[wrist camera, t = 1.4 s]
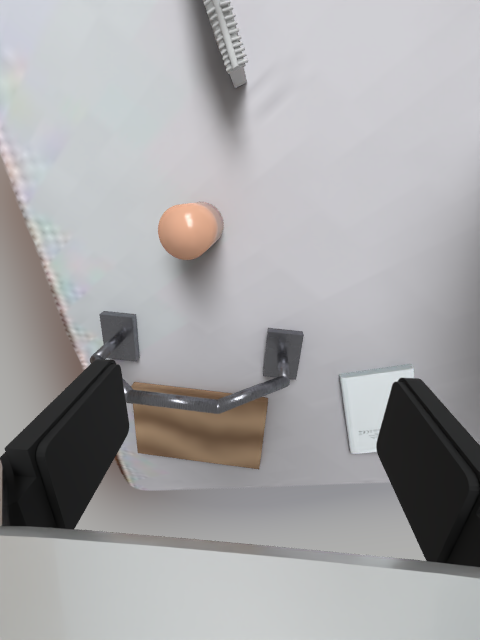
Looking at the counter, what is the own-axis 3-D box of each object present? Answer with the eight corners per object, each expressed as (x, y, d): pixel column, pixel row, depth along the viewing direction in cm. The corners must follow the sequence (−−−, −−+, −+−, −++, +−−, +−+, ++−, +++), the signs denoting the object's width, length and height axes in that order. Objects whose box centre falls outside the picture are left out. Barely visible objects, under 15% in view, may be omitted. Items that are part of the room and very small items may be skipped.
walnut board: (134, 381, 40) (131, 386, 39) (267, 397, 38) (267, 402, 38) (140, 447, 44) (137, 452, 44) (259, 463, 43) (259, 469, 42)
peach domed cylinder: (181, 200, 30) (156, 202, 23) (224, 203, 30) (211, 206, 23) (182, 244, 32) (159, 257, 25) (222, 247, 31) (209, 262, 25)
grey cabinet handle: (103, 311, 36) (33, 361, 25) (302, 331, 34) (316, 394, 24) (109, 353, 38) (47, 415, 28) (295, 374, 37) (304, 449, 26)
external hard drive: (409, 361, 35) (411, 439, 40) (338, 371, 37) (348, 445, 41) (414, 368, 34) (417, 449, 38) (340, 378, 35) (351, 455, 40)
